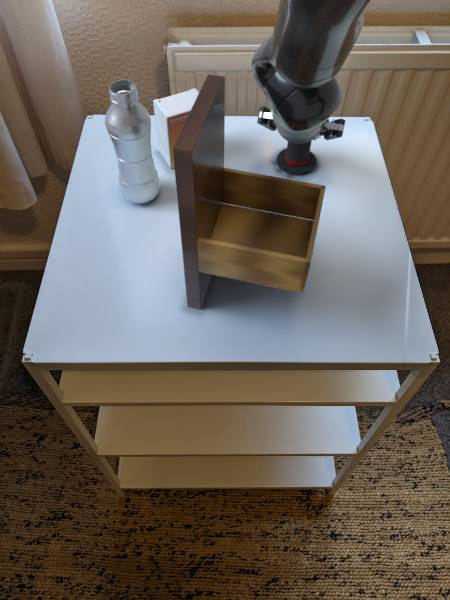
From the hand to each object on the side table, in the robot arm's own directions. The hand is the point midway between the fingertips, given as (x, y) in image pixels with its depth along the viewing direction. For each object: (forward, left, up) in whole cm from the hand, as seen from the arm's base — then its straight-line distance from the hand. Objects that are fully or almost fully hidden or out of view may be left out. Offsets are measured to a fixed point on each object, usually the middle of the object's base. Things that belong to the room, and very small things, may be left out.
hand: (301, 131), depth 87 cm
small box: (+20, +5, -5) cm, 21 cm away
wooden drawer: (+2, +30, -5) cm, 31 cm away
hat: (0, +2, -5) cm, 5 cm away
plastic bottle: (+24, +17, -5) cm, 30 cm away
